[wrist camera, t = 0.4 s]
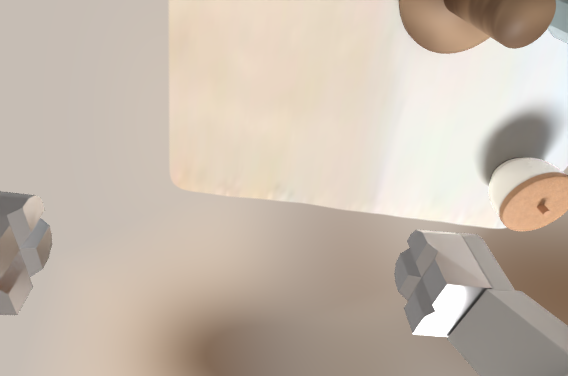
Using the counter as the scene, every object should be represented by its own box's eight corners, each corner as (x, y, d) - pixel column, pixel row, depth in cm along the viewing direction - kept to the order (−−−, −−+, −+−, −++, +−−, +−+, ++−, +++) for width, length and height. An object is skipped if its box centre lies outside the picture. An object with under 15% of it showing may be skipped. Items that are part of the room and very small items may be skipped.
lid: (425, -101, 37) (491, -92, 28) (550, -80, 40) (650, -65, 30) (383, 44, 46) (423, 88, 37) (488, 54, 48) (551, 98, 39)
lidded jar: (480, 154, 58) (516, 194, 51) (551, 138, 58) (597, 175, 51) (472, 204, 65) (503, 246, 58) (536, 190, 65) (574, 230, 58)
